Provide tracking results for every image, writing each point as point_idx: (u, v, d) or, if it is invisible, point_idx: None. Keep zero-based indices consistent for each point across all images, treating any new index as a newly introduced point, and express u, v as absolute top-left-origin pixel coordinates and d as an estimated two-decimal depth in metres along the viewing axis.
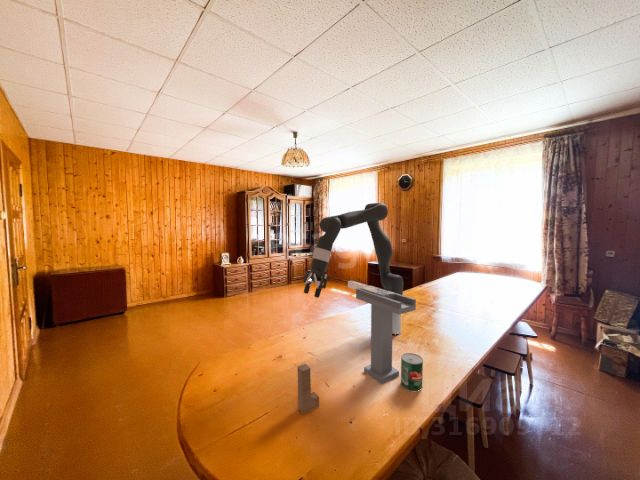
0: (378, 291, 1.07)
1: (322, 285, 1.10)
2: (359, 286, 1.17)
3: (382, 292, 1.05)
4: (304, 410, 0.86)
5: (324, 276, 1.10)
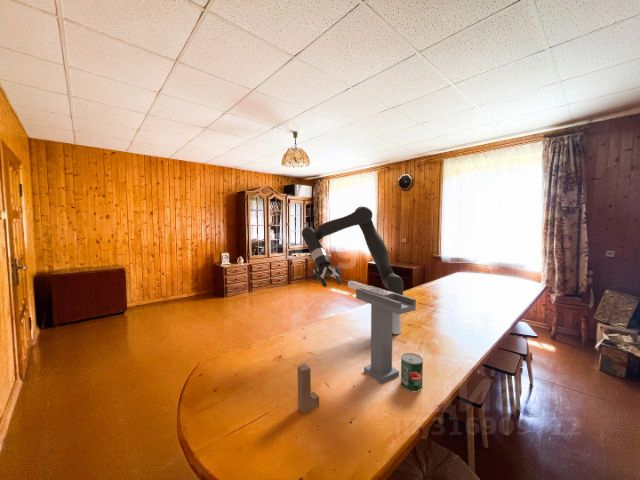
0: (378, 291, 1.07)
1: (316, 278, 1.26)
2: (359, 286, 1.17)
3: (382, 292, 1.05)
4: (304, 410, 0.86)
5: (313, 271, 1.29)
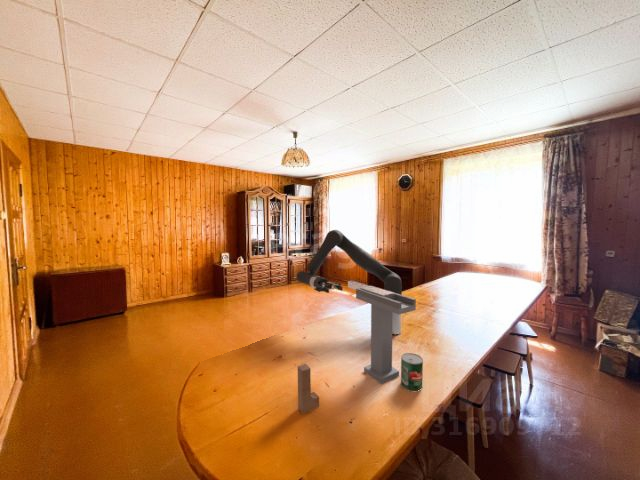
0: (378, 291, 1.07)
1: (318, 290, 1.36)
2: (359, 286, 1.17)
3: (382, 292, 1.05)
4: (304, 410, 0.86)
5: (314, 288, 1.39)
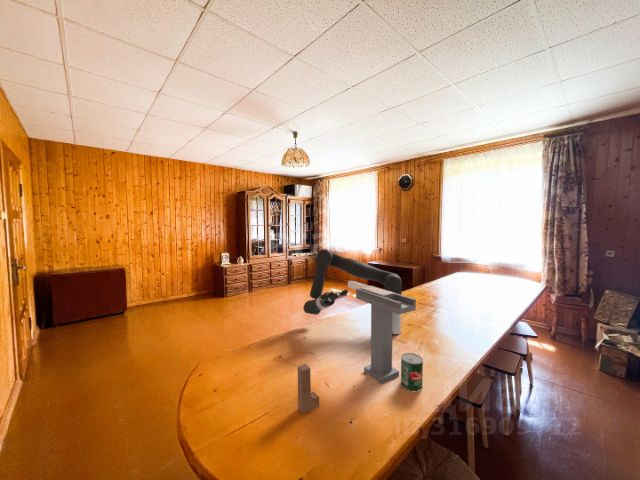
0: (378, 291, 1.07)
1: (323, 298, 1.32)
2: (359, 286, 1.17)
3: (382, 292, 1.05)
4: (304, 410, 0.86)
5: (320, 300, 1.35)
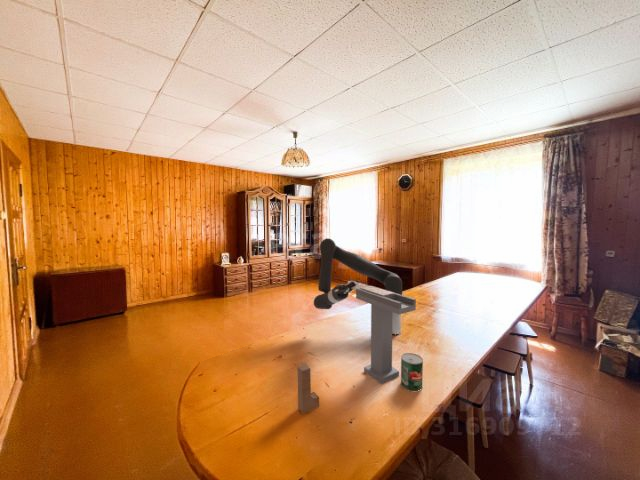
0: (378, 291, 1.07)
1: None
2: (359, 286, 1.17)
3: (382, 292, 1.05)
4: (304, 410, 0.86)
5: (336, 291, 1.23)
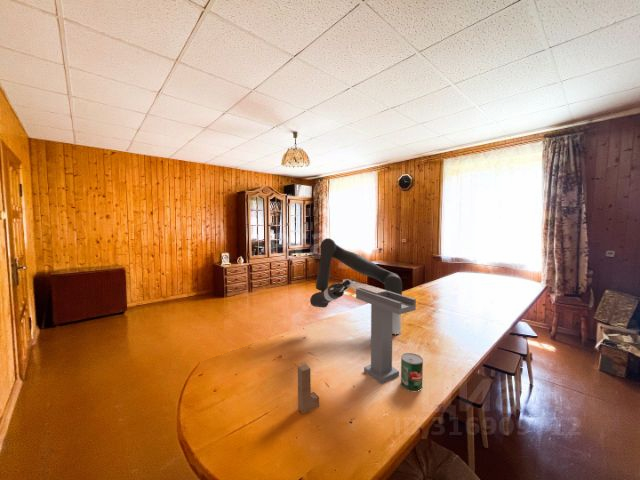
0: (371, 289, 1.10)
1: (338, 287, 1.25)
2: (354, 284, 1.20)
3: (375, 290, 1.09)
4: (304, 410, 0.86)
5: (332, 290, 1.27)
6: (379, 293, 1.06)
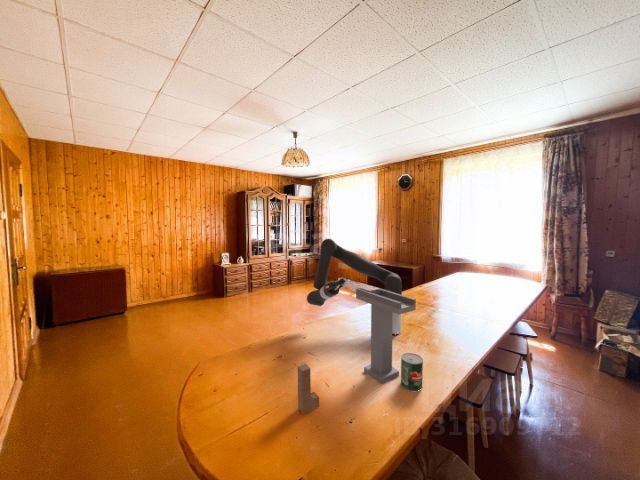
0: (365, 287, 1.13)
1: (333, 285, 1.29)
2: (348, 283, 1.23)
3: (369, 288, 1.12)
4: (304, 410, 0.86)
5: (327, 288, 1.30)
6: (372, 291, 1.09)
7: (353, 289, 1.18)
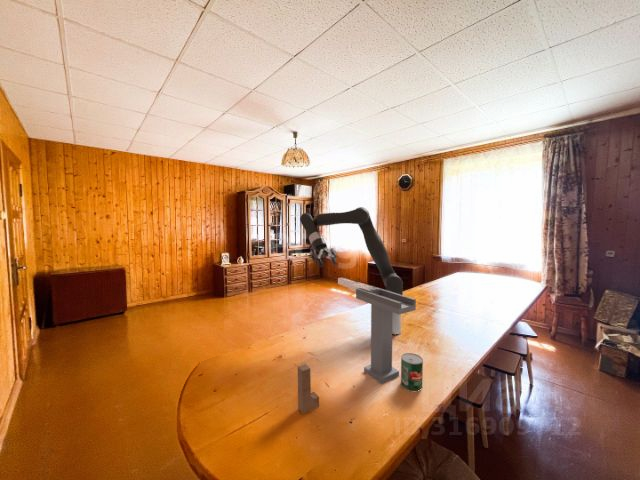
0: (364, 287, 1.13)
1: (313, 258, 1.37)
2: (348, 282, 1.23)
3: (368, 288, 1.12)
4: (304, 410, 0.86)
5: (310, 253, 1.39)
6: (372, 291, 1.09)
7: (353, 289, 1.18)
